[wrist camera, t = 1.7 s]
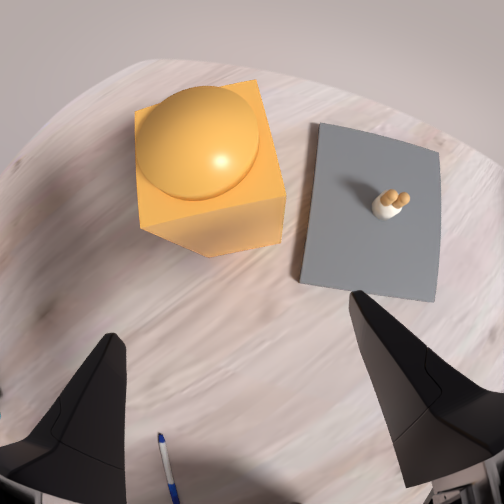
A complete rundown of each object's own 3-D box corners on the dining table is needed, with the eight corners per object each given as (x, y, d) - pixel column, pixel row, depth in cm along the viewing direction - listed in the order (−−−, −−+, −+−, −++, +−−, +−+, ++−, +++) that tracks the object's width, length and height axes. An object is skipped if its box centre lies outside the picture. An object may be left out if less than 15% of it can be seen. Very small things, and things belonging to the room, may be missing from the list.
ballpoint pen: (183, 505, 21) (180, 510, 20) (175, 504, 21) (173, 509, 20) (164, 433, 22) (161, 437, 21) (156, 432, 22) (152, 436, 21)
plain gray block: (428, 301, 22) (458, 304, 17) (298, 282, 23) (305, 282, 18) (434, 156, 23) (458, 135, 18) (319, 128, 24) (326, 97, 19)
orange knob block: (280, 243, 23) (287, 187, 10) (208, 257, 24) (129, 223, 10) (265, 174, 24) (254, 65, 11) (197, 189, 24) (126, 101, 11)
